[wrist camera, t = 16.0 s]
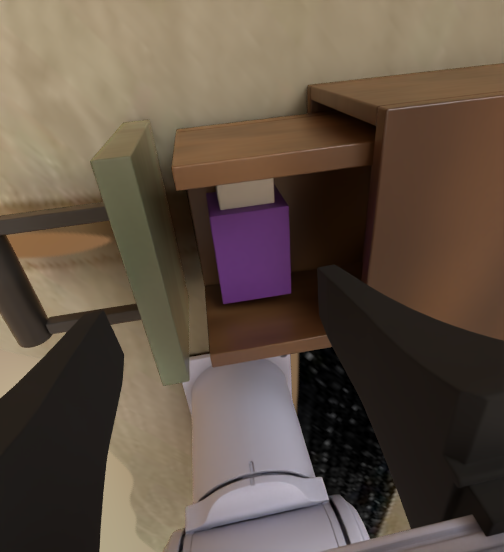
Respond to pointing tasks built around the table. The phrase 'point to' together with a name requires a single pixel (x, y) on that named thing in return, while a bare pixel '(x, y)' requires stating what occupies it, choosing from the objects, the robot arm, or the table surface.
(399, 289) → the cabinet
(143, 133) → the drawer
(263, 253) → the purple eraser
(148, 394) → the table surface
